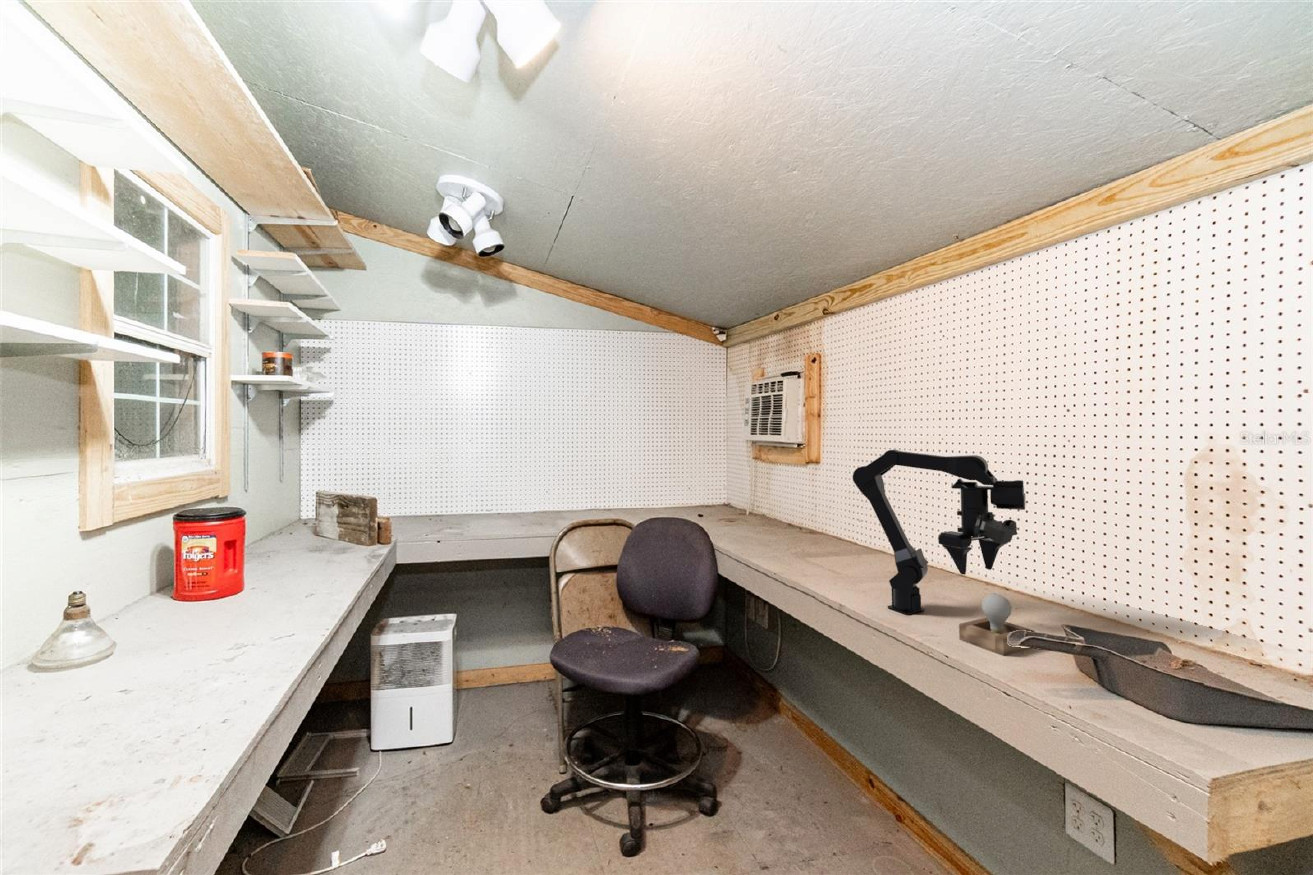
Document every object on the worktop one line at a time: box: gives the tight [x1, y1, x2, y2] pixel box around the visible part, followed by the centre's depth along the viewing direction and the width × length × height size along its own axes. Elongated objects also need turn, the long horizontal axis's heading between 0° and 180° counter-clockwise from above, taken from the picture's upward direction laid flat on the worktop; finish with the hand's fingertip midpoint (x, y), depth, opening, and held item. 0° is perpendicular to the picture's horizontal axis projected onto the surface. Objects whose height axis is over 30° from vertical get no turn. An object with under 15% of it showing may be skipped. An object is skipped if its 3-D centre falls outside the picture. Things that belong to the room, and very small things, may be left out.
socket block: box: [958, 616, 1035, 657], centre depth 119 cm, size 10×10×4 cm
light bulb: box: [981, 593, 1012, 634], centre depth 119 cm, size 5×6×10 cm
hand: (976, 571), depth 132 cm, fingers open, 9 cm apart
